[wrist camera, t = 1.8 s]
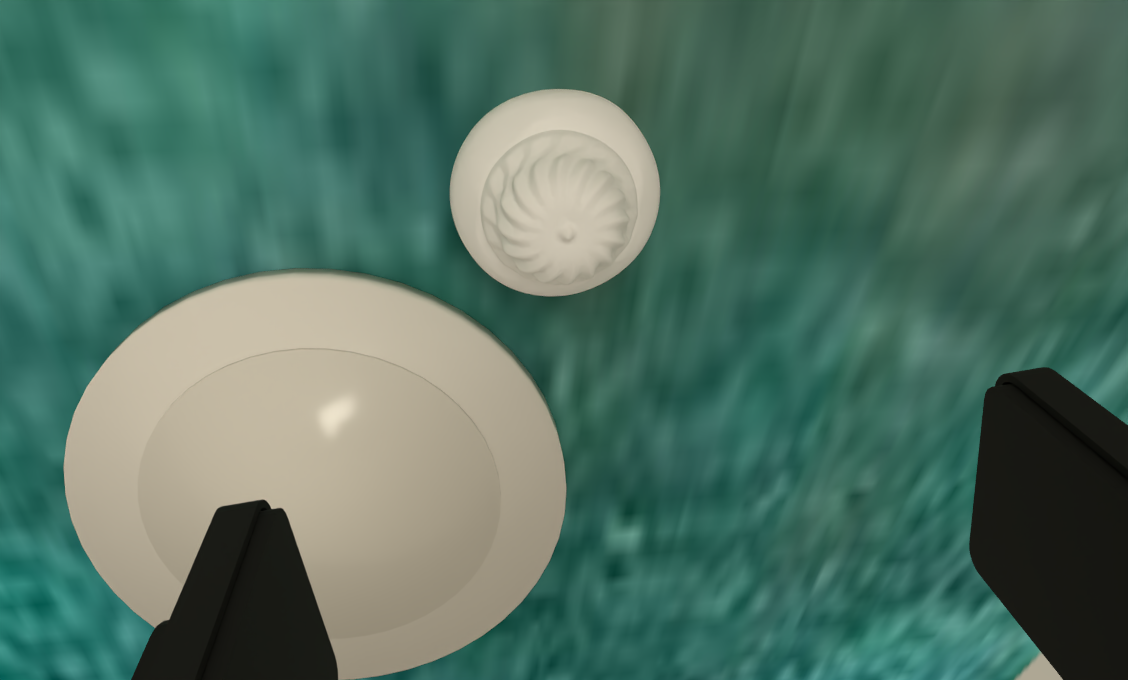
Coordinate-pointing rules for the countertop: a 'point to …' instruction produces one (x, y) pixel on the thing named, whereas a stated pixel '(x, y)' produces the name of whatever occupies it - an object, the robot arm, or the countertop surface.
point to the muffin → (554, 192)
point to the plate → (325, 457)
